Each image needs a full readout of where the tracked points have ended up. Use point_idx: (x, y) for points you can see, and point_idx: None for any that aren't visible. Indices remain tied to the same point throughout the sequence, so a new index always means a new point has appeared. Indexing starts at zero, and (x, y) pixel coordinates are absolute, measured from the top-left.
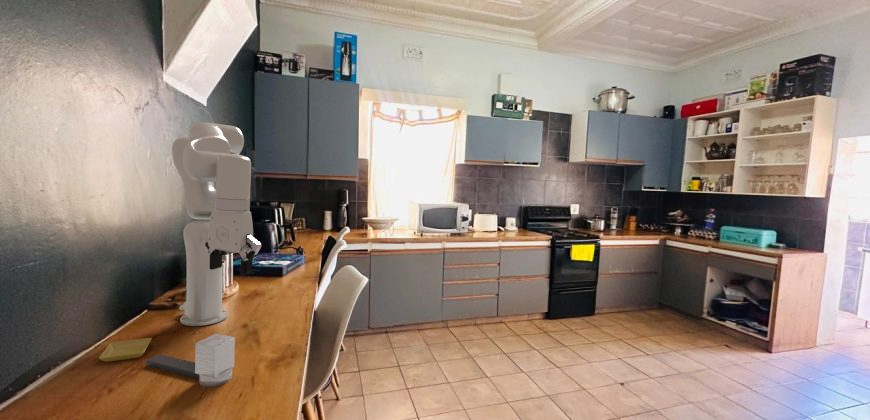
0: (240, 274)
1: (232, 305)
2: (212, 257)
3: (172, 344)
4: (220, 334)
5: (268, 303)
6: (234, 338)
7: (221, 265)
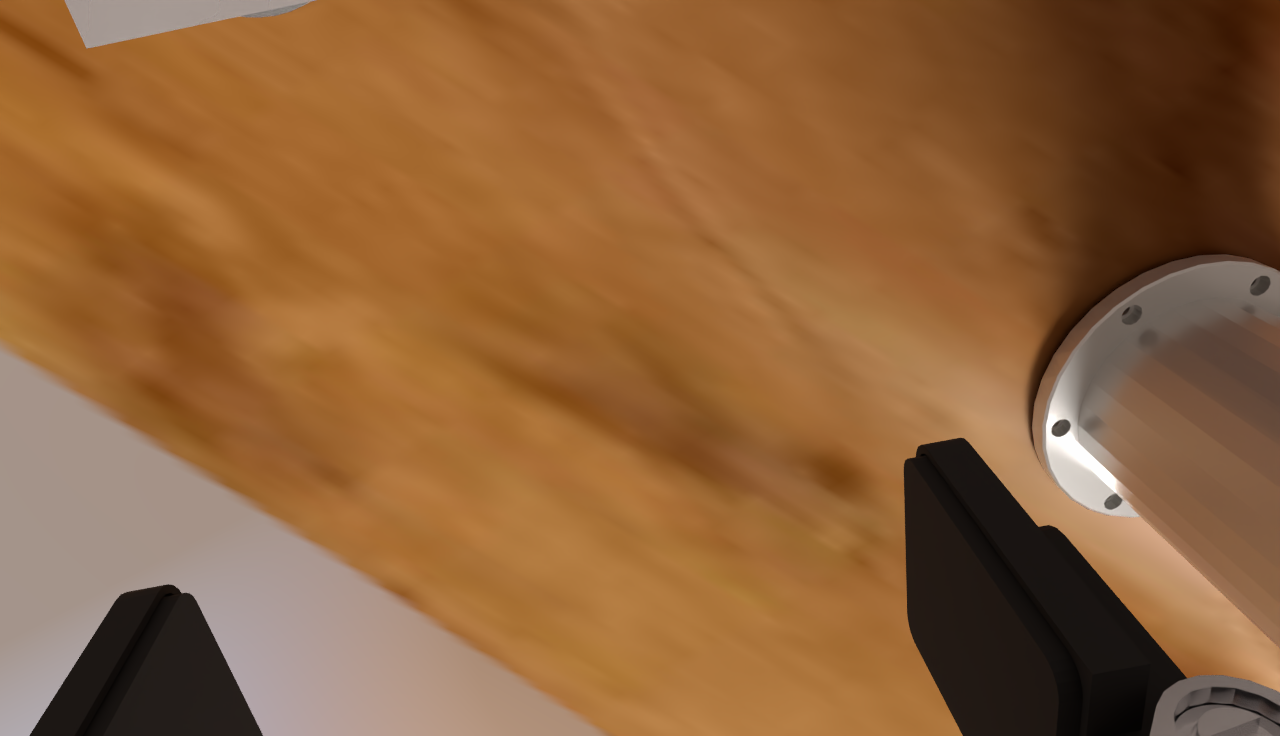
0: (155, 600)
1: (1168, 591)
2: (1025, 633)
3: (1016, 36)
4: (269, 6)
5: None
6: (91, 43)
7: (921, 642)
